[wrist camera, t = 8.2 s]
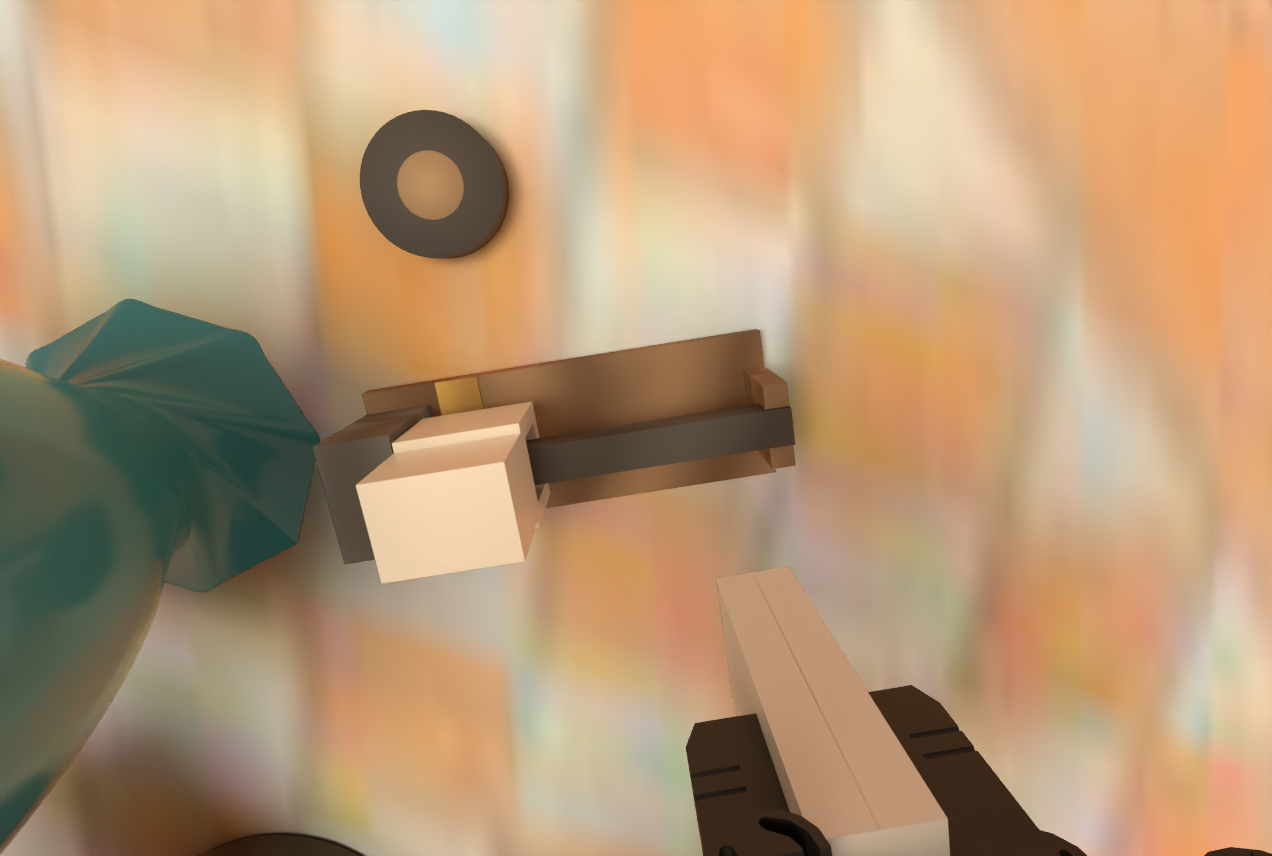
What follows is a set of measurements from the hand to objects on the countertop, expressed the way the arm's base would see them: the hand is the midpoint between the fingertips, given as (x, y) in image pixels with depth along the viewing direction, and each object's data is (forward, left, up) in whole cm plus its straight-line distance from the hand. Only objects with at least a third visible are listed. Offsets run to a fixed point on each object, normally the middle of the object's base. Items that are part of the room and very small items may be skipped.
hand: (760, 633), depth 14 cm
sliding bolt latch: (-5, 0, -21) cm, 21 cm away
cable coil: (-9, +12, -21) cm, 26 cm away
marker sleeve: (-9, 0, -18) cm, 20 cm away
